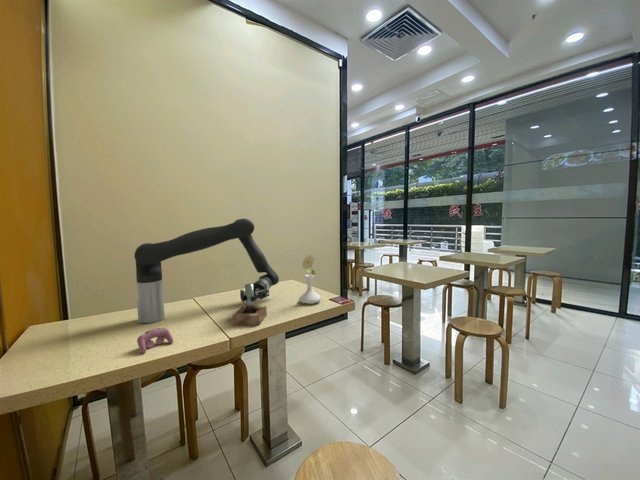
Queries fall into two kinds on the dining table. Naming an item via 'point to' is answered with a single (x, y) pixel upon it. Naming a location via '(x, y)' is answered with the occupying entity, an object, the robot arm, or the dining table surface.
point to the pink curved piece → (157, 332)
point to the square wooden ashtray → (249, 316)
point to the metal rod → (249, 298)
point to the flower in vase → (309, 283)
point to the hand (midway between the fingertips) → (247, 299)
